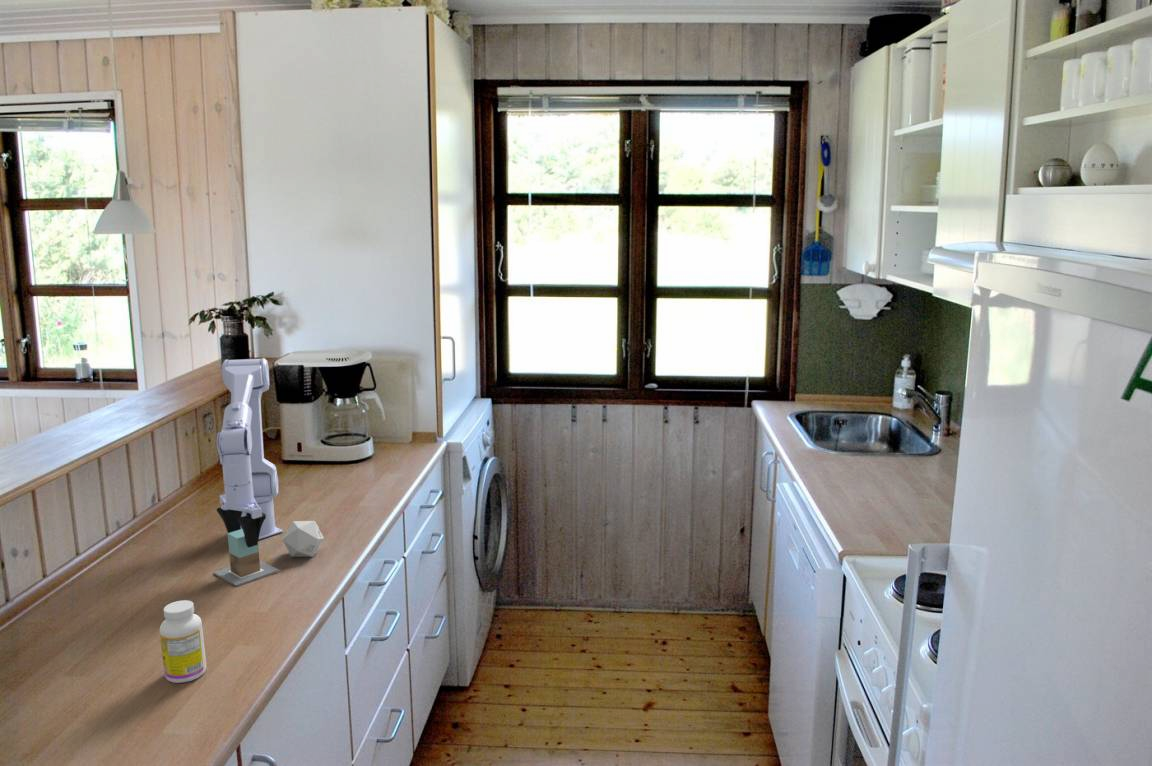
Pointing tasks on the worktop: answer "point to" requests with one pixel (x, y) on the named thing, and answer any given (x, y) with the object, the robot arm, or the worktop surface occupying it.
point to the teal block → (240, 544)
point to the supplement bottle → (182, 643)
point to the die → (303, 538)
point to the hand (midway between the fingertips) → (243, 541)
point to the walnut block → (245, 564)
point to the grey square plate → (238, 580)
